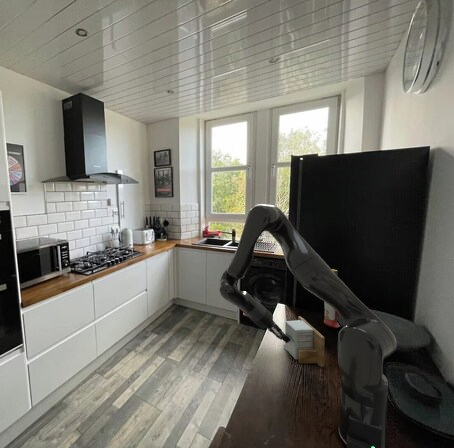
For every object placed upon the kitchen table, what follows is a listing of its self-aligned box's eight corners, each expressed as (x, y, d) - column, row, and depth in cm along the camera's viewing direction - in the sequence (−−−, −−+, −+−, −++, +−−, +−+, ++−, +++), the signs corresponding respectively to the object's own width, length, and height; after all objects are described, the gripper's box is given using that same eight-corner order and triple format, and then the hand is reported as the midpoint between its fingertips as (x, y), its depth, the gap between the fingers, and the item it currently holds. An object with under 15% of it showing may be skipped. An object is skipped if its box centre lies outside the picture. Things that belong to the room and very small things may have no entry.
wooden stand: (303, 367, 93) (303, 338, 92) (282, 342, 109) (282, 316, 107) (323, 367, 93) (324, 337, 91) (300, 342, 109) (300, 316, 107)
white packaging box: (284, 348, 105) (284, 320, 103) (301, 347, 105) (302, 319, 103) (294, 360, 97) (295, 330, 96) (313, 358, 97) (314, 328, 96)
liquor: (319, 323, 123) (320, 268, 119) (331, 321, 124) (333, 267, 121) (332, 330, 116) (334, 273, 112) (345, 328, 117) (347, 271, 113)
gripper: (271, 314, 92) (303, 344, 93) (258, 299, 106) (286, 325, 107) (257, 328, 93) (289, 357, 94) (245, 311, 106) (274, 337, 107)
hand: (287, 340), depth 100 cm, fingers closed
